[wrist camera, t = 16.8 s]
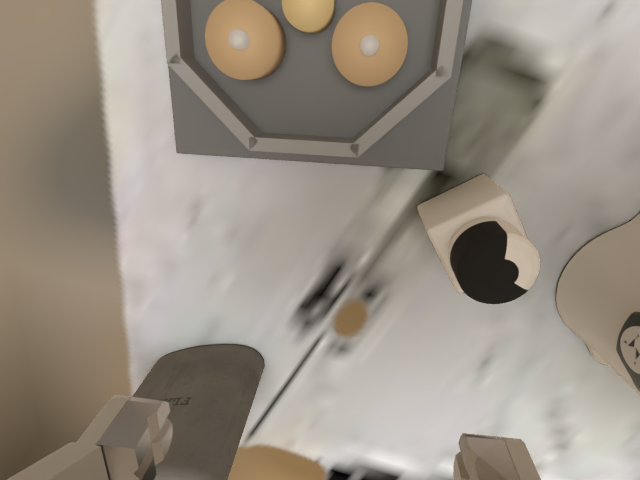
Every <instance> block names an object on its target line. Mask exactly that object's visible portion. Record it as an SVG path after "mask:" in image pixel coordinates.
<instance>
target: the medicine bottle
mask: <svg viewBox="0 0 640 480" xmlns="http://www.w3.org/2000/svg"><path fill="white" fill-rule="evenodd" d="M417 210H418V212H419V214H420V217H421V219H422V222H423V224H424V227H425V229H426V232H427V234H428V236H429V238H430V240H431V242H432V244H433V246H434V248H435V250H436V252H437V254H438V256H439V258H440V260H441V262H442V264H443V266H444V268H445V270H446V272H447V274H448V276H449V278H450V279H451V281H452V283H453V285H454V287H455V289H456V291H457V292H458V293H460V294H461V293H466V294H467V295H468V296H469V297H471V298H472V299H474V300H476V301H479V302H482V303H487V304H500V303H506V302H509V301H512V300H514V299H516V298H518V297H520V296H522V295H523V294H525V293H526V292H527V291H528V290H529V289H530V288H531V287H532V286H533V284H534V283H535V281H536V279H537V277H538V275H539V272H540V257H539V254H538V252H537V250H536V248H535V247H534V246H533V244H532V243H531V242H530V241H529V240H528V238H527V236H526V234H525V231H524V229H523V226H522V224H521V222H520V219H519V217H518V214H517V212H516V210H515V207H514V205H513V202H512V200H511V198H510V195H509V194H508V193H507V192H506V191H504V190H503V189H502V188H501V187H500V186H498V185H497V184H496V183H495V182H494V181H492V180H491V179H490V178H489V177H488V176H487V175H485V174H481V175H479V176H477V177H475V178H473V179H471V180H469V181H467V182H465V183H463V184H461V185H458V186H456V187H454V188H452V189H450V190H448V191H446V192H444V193H442V194H440V195H438V196H436V197H434V198H432V199H430V200H427V201H425V202H423V203H421V204H419V205H418V207H417Z"/></svg>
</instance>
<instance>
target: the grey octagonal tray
mask: <svg viewBox="0 0 640 480" xmlns="http://www.w3.org/2000/svg"><path fill="white" fill-rule="evenodd" d="M471 4H472V0H161V5H162V16H163V26H164V36H165V46H166V57H167V64H168V68H169V78H170V88H171V99H172V109H173V119H174V130H175V140H176V151H177V153H183V154H198V155H213V156H229V157H244V158H259V159H274V160H289V161H304V162H319V163H334V164H350V165H365V166H380V167H395V168H410V169H425V170H440V171H443V169H444V163H445V157H446V151H447V145H448V139H449V133H450V127H451V122H452V116H453V110H454V104H455V98H456V92H457V86H458V80H459V74H460V69H461V63H462V57H463V51H464V45H465V39H466V33H467V27H468V21H469V16H470V10H471Z"/></svg>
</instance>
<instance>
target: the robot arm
mask: <svg viewBox="0 0 640 480" xmlns="http://www.w3.org/2000/svg"><path fill="white" fill-rule="evenodd" d="M556 302H557V308H558V311H559V314H560V316H561V318H562V320H563V321H564V323H565V324H566V325H567V326H568V327H569V329H571V330H572V331H573V332H574V333H576V334H577V335H578V336H579V337H581V338H582V339H583V340H584V341H585V342H586V345H587V347H588V350H589V352H590V354H591V355H592V356H593V357H594V358H595V359H596V360H597V361H598V362H599V363H601V364H604V365H609V366H610V367H611V368H613V369H614V370H615V371H616V372H617V373H618V374H619V375H620V376H621V377H622V378H623V379H624V380H625V381H626V382H627V383H628V384H629V385H630V386H631V387H633V388H634V389H635V390H636V391H637V392H638V393H639V394H640V213H639V214H638V215H637V216H636V217H635V218H634V219H632V220H631V221H630V222H628V223H626V224H624V225H622V226H620V227H617V228H615V229H613V230H610V231H608V232H606V233H604V234H602V235H600V236H599V237H597V238H595V239H594V240H592V241H591V242H589V243H588V244H587V245H585V246H584V247H583V248H582V249H581V250H580V251H579V252H577V254H576V255H575V256H574V257H573V258H572V259H571V260H570V262H569V263H568V264H567V266H566V268H565V269H564V271H563V273H562V275H561V277H560V280H559V283H558V287H557V293H556ZM169 413H170V407H169V402H166V401H160V400H153V399H145V398H138V397H129V396H121V395H115V396H113V397H112V398H110V399H109V400H108V402H107V403H106V404H105V406H104V407H103V408H102V409H101V411H100V412H99V413H98V415H97V416H96V417H95V419H94V420H93V421H92V422H91V424H90V425H89V426H88V428H87V429H86V430H85V432H84V433H83V434H82V435H81V437H80V438H79V439H78V441H77V442H76V443H72V442H71V443H69V444H67V445H65V446H64V447H62V448H60V449H58V450H57V451H55V452H53V453H52V454H50V455H48V456H47V457H45V458H43V459H42V460H40V461H38V462H36V463H35V464H33V465H31V466H29V467H28V468H26V469H24V470H23V471H21V472H19V473H18V474H16V475H14V476H12V477H11V478H9V479H7V480H154V478H155V476H156V468H155V465H157V464H158V463H159V462H161V461H162V460H164V458H165V456H166V454H167V452H168V450H169V447H170V444H171V440H172V433H173V427H172V423H171V421H170V420H169V419H168V418H167V416H168V414H169ZM459 446H460V450H461V452H459V453H458V454H457V455H456V456H455V461H454V480H541V479H540V476H539V474H538V472H537V470H536V468H535V465H534V463H533V461H532V459H531V456H530V454H529V452H528V450H527V447H526V445H525V443H524V442H523V441H522V440H521V439H513V438H504V437H501V438H500V437H496V436H485V435H475V434H465V433H463V434H462V435H461V437H460V440H459Z"/></svg>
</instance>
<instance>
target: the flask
mask: <svg viewBox="0 0 640 480" xmlns="http://www.w3.org/2000/svg"><path fill="white" fill-rule="evenodd" d="M263 369H264V360H263V358H262V357H261V355H260V354H259V353H258V352H257V351H255V350H254V349H251V348H249V347H245V346H240V345H208V346H200V347H194V348H189V349H184V350H180V351H177V352H173V353H171V354H168V355H165V356H164V357H162V358H160V359H159V360H158V361H157V363H156V364H155V365H154V367H153V368H152V369H151V371H150V372H149V374H148V375H147V377H146V378H145V379H144V381H143V382H142V384H141V385H140V387H139V388H138V389H137V391H136V392H135V394H134V395H133V396H132V397H138V398H145V399H153V400H160V401H166V402H169V407H170V413H169V414H168V416H167V418H168V419H169V420H170V421H171V423H172V427H173V433H172V440H171V444H170V447H169V450H168V452H167V454H166V456H165V458H164V460H162V461H161V462H159V463H158V464H157V465H155V468H156V476H155V478H154V480H227V479H228V476H229V473H230V469H231V467H232V464H233V460H234V458H235V454H236V451H237V448H238V445H239V442H240V439H241V436H242V433H243V430H244V427H245V424H246V421H247V418H248V415H249V412H250V409H251V406H252V403H253V400H254V397H255V394H256V391H257V388H258V385H259V381H260V378H261V375H262V372H263Z"/></svg>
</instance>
